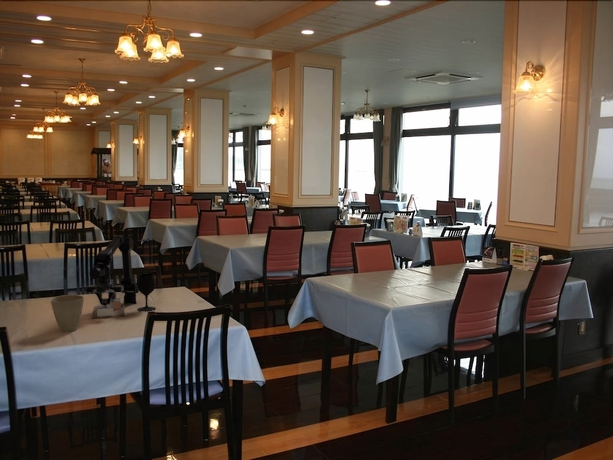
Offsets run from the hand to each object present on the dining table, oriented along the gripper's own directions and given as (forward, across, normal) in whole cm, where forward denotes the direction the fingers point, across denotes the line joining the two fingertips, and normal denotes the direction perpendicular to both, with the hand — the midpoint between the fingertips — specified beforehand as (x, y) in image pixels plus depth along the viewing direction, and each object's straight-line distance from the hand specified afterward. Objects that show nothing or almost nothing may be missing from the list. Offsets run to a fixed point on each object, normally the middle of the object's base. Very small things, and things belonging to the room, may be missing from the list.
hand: (105, 304), depth 302 cm
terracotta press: (+6, 0, +14) cm, 16 cm away
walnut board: (+6, 0, +7) cm, 9 cm away
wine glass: (+6, +19, +13) cm, 24 cm away
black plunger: (+5, 0, 0) cm, 5 cm away
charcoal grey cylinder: (+5, 0, +15) cm, 15 cm away
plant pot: (+6, -9, -29) cm, 31 cm away
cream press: (+6, 0, 0) cm, 6 cm away
